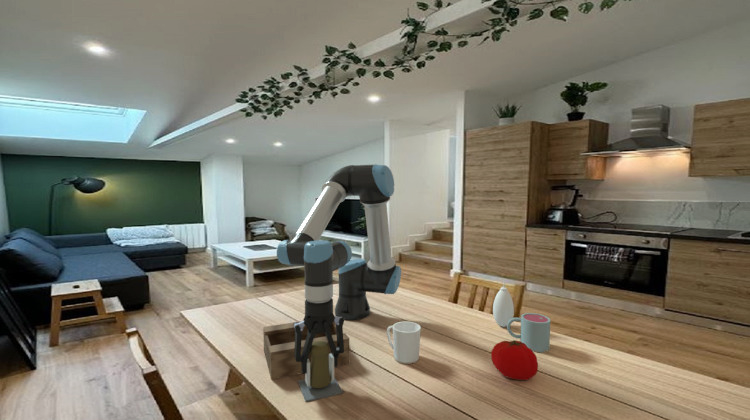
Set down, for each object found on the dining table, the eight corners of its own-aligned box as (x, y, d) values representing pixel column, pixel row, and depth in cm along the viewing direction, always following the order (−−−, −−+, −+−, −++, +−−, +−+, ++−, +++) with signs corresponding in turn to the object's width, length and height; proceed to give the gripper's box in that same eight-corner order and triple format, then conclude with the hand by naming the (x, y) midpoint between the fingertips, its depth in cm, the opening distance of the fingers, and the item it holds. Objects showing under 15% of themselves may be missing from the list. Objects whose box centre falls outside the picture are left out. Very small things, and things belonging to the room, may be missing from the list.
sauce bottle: (491, 328, 137) (492, 282, 136) (493, 321, 144) (494, 277, 143) (513, 331, 134) (514, 284, 133) (513, 323, 141) (515, 279, 140)
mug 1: (422, 353, 116) (423, 323, 116) (417, 367, 108) (417, 334, 107) (390, 348, 120) (390, 319, 119) (382, 361, 112) (382, 329, 111)
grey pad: (332, 374, 104) (332, 373, 104) (342, 393, 94) (342, 391, 94) (297, 382, 100) (297, 380, 100) (305, 402, 90) (305, 400, 90)
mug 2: (548, 343, 124) (549, 315, 124) (549, 354, 116) (550, 324, 115) (507, 336, 130) (508, 309, 129) (505, 346, 122) (506, 318, 121)
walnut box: (331, 338, 128) (331, 316, 128) (349, 363, 110) (349, 338, 110) (263, 350, 119) (263, 327, 118) (271, 379, 101) (270, 352, 100)
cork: (326, 389, 94) (326, 349, 93) (305, 386, 95) (304, 346, 94) (333, 377, 99) (333, 339, 99) (313, 374, 101) (313, 337, 100)
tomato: (534, 390, 96) (536, 354, 95) (486, 377, 102) (487, 342, 102) (540, 372, 105) (541, 338, 104) (496, 360, 112) (496, 329, 111)
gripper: (347, 290, 102) (348, 367, 104) (280, 298, 95) (282, 381, 97) (356, 298, 96) (357, 380, 97) (285, 307, 88) (287, 396, 90)
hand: (319, 380), depth 97 cm, fingers closed on cork, 6 cm apart
